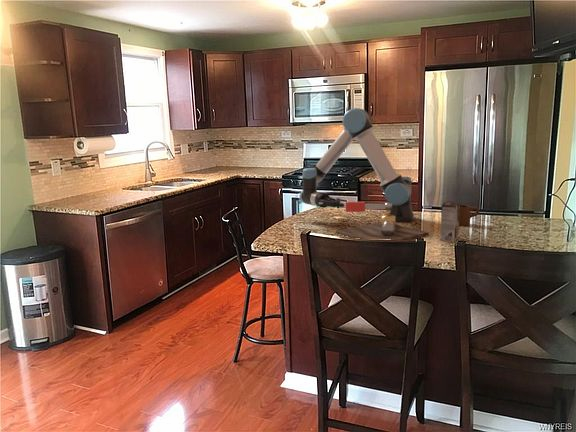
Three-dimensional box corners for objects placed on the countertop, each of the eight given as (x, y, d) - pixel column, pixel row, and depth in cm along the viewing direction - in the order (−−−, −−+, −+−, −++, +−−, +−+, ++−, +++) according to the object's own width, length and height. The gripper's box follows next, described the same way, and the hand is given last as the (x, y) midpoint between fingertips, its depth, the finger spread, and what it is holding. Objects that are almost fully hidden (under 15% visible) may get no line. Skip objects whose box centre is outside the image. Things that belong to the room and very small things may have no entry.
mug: (476, 222, 236) (477, 204, 234) (480, 226, 229) (481, 207, 227) (452, 223, 238) (452, 204, 236) (455, 226, 230) (456, 207, 228)
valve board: (383, 224, 239) (383, 221, 239) (428, 235, 214) (428, 232, 214) (335, 233, 223) (335, 230, 223) (379, 246, 198) (379, 243, 198)
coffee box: (444, 236, 213) (445, 201, 209) (458, 237, 209) (460, 202, 206) (439, 240, 205) (440, 204, 202) (454, 242, 202) (456, 205, 198)
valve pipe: (381, 225, 233) (382, 205, 230) (395, 225, 231) (395, 205, 229) (380, 236, 211) (381, 214, 209) (395, 237, 209) (395, 214, 207)
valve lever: (391, 210, 220) (391, 201, 219) (392, 211, 217) (392, 202, 216) (345, 210, 223) (345, 201, 222) (345, 211, 220) (345, 202, 219)
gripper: (330, 205, 246) (359, 211, 227) (310, 208, 240) (338, 215, 220) (330, 191, 245) (359, 196, 225) (310, 194, 238) (338, 199, 219)
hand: (349, 206), depth 223 cm, fingers closed
